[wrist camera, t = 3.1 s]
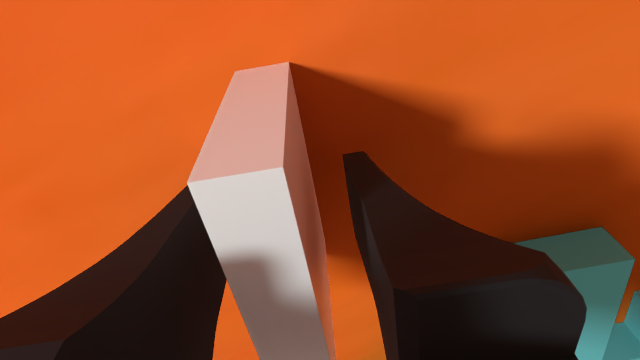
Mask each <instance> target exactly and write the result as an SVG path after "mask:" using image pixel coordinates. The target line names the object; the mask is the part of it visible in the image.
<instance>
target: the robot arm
mask: <svg viewBox="0 0 640 360" xmlns="http://www.w3.org/2000/svg"><path fill="white" fill-rule="evenodd" d="M343 161H344V168H345V175H346V182H347V189H348V195H349V202H350V209H351V215H352V220H353V226H354V231H355V236H356V240H357V243H358V246H359V250H360V253H361V256H362V260H363V263H364V266H365V269H366V273H367V276H368V279H369V283H370V286H371V289H372V292H373V296H374V300H375V304H376V308H377V312H378V317H379V322H380V327H381V333H382V338H383V343H384V348H385V353H386V358H387V360H578V358H577V356H576V355H575V351H576V348H577V345H578V342H579V339H580V336H581V333H582V330H583V327H584V324H585V321H586V313H587V307H586V304H585V301H584V298H583V296H582V295H581V294H580V292H579V291H578V290H577V289H576V287H575V286H574V285H573V283H572V282H571V281H570V279H569V278H568V277H567V276H566V275H565V273H564V272H563V271H562V270H561V269H560V268H559V267H558V266H557V265H556V264H555V263H554V262H553V261H552V260H551V259H550V257H549V256H548V255H547V254H546V253H545V252H542V251H538V250H535V249H531V248H528V247H524V246H521V245H517V244H513V243H510V242H506V241H503V240H500V239H497V238H495V237H492V236H489V235H486V234H484V233H481V232H478V231H476V230H473V229H471V228H468V227H466V226H464V225H462V224H459V223H457V222H455V221H453V220H451V219H449V218H447V217H445V216H443V215H441V214H439V213H437V212H435V211H434V210H432V209H430V208H429V207H427V206H425V205H424V204H422V203H421V202H419V201H418V200H416V199H415V198H413V197H412V196H411V195H409V194H408V193H407V192H405V191H404V190H403V189H402V188H400V187H399V186H398V185H397V184H396V183H395V182H393V181H392V180H391V179H390V178H389V177H388V176H387V175H386V174H385V173H384V172H382V171H381V170H380V169H379V168H378V167H377V165H376V164H375V163H374V162H373V161H372V160H371V159H370V158H369V157H368V155H367V154H366V153H364V152H363V151H362V152H356V153H350V154H344V155H343ZM226 280H227V279H226V276H225V274H224V271H223V269H222V267H221V264H220V262H219V259H218V257H217V254H216V252H215V250H214V247H213V245H212V242H211V240H210V238H209V235H208V233H207V230H206V228H205V226H204V223H203V221H202V218H201V216H200V213H199V211H198V209H197V206H196V204H195V201H194V199H193V197H192V194H191V192H190V189H189V187H188V185H187V186H186V187H185V188H184V189H183V190H182V191H181V192H180V193H179V194H178V195H177V196H176V197H175V198H174V199H173V200H172V201H170V202H169V203H168V204H167V205H166V206H165V207H164V208H163V209H162V210H161V211H160V212H159V213H158V214H157V215H156V216H155V217H153V218H152V219H151V220H150V221H149V222H148V223H147V224H145V225H144V226H143V227H142V228H141V229H140V230H138V231H137V232H136V233H135V234H134V235H133V236H132V237H130V238H129V239H128V240H127V241H125V242H124V243H123V244H122V245H120V246H119V247H118V248H117V249H115V250H114V251H113V252H111V253H110V254H108V255H107V256H106V257H104V258H103V259H101V260H100V261H99V262H97V263H96V264H94V265H93V266H91V267H90V268H88V269H87V270H85V271H83V272H82V273H80V274H79V275H77V276H76V277H74V278H72V279H71V280H69V281H68V282H66V283H64V284H63V285H61V286H60V287H58V288H56V289H55V290H53V291H51V292H49V293H47V294H46V295H44V296H42V297H40V298H39V299H37V300H35V301H33V302H31V303H29V304H27V305H25V306H24V307H22V308H20V309H18V310H16V311H14V312H12V313H10V314H8V315H6V316H4V317H2V318H0V360H212V358H213V349H214V340H215V331H216V326H217V320H218V315H219V311H220V306H221V302H222V298H223V293H224V289H225V284H226Z"/></svg>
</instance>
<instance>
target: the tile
mask: <svg viewBox="0 0 640 360" xmlns="http://www.w3.org/2000/svg"><path fill="white" fill-rule="evenodd" d="M187 185H188V187H189V189H190V192H191V194H192V197H193V199H194V201H195V204H196V206H197V209H198V211H199V213H200V216H201V218H202V221H203V223H204V226H205V228H206V230H207V233H208V235H209V238H210V240H211V242H212V245H213V247H214V250H215V252H216V254H217V257H218V259H219V262H220V264H221V267H222V269H223V271H224V274H225V276H226V279H227V281H228V283H229V286H230V288H231V291H232V293H233V296H234V298H235V300H236V303H237V305H238V308H239V310H240V312H241V315H242V317H243V320H244V322H245V324H246V327H247V329H248V332H249V334H250V337H251V339H252V341H253V344H254V346H255V349H256V351H257V353H258V356H259V358H260V360H336V354H335V343H334V332H333V321H332V310H331V299H330V288H329V277H328V267H327V256H326V245H325V238H324V233H323V228H322V223H321V218H320V213H319V208H318V203H317V198H316V193H315V188H314V183H313V178H312V173H311V169H310V164H309V159H308V154H307V149H306V144H305V139H304V134H303V129H302V124H301V119H300V114H299V109H298V104H297V99H296V94H295V89H294V84H293V79H292V74H291V69H290V65H289V62H286V63H280V64H274V65H268V66H263V67H257V68H251V69H246V70H240V71H235V73H234V75H233V77H232V80H231V82H230V84H229V86H228V89H227V91H226V93H225V96H224V98H223V100H222V103H221V105H220V107H219V110H218V112H217V114H216V116H215V119H214V121H213V123H212V126H211V128H210V130H209V133H208V135H207V137H206V140H205V142H204V144H203V147H202V149H201V151H200V153H199V156H198V158H197V160H196V163H195V165H194V167H193V170H192V172H191V174H190V177H189V179H188V181H187Z"/></svg>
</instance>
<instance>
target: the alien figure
mask: <svg viewBox="0 0 640 360" xmlns="http://www.w3.org/2000/svg"><path fill="white" fill-rule="evenodd" d="M513 244H517V245H521V246H524V247H528V248H531V249H535V250H538V251H542V252H545V253H546V254H547V255H548V256H549V257H550V259H551V260H552V261H553V262H554V263H555V264H556V265H557V266H558V267H559V268H560V269H561V270H562V271H563V272H564V273H565V275H566V276H567V277H568V278H569V279H570V281H571V282H572V283H573V285H574V286H575V287H576V289H577V290H578V291H579V292H580V294H581V295H582V296H583V298H584V301H585V304H586V307H587V313H586V321H585V324H584V327H583V330H582V333H581V336H580V339H579V342H578V345H577V348H576V351H575V355H576V356H577V358H578V360H640V291H635V292H634V294H633V297H632V300H631V303H630V306H629V308H628V311H627V314H626V317H625V320H624V322H622V323H616V324H614V322H615V319H616V316H617V313H618V310H619V307H620V304H621V301H622V298H623V295H624V292H625V289H626V286H627V283H628V280H629V277H630V274H631V271H632V268H633V265H634V262H635V258H634V257H633V256H632V255H631V254H630V253H629V252H628V251H627V250H626V249H625V248H624V247H623V246H622V245H621V244H620V243H618V242H617V241H616V240H615V239H614V238H613V237H612V236H611V235H610V234H609V233H608V232H607V231H606V230H605V229H604V228H603V227H598V228H592V229H587V230H581V231H576V232H571V233H565V234H560V235H554V236H549V237H543V238H538V239H532V240H527V241H521V242H516V243H513Z"/></svg>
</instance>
